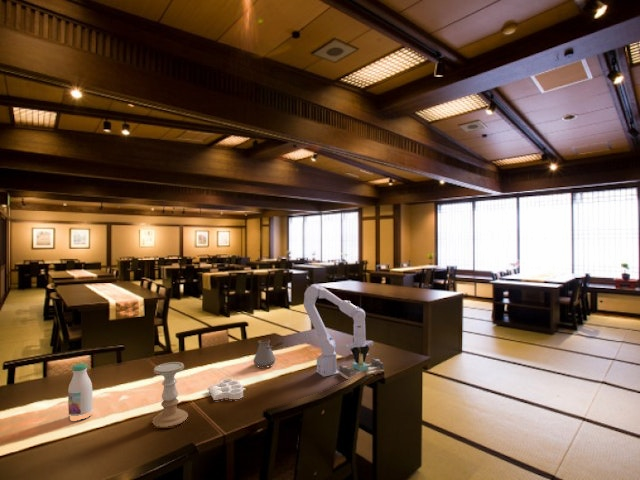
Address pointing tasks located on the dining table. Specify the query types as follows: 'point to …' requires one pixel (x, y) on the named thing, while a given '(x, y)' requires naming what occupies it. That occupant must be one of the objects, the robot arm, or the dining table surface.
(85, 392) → the milk bottle
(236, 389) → the white flat scalloped piece
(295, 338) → the dining table surface
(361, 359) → the carriage
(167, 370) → the candle holder
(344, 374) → the rail bed
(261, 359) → the coffee pot
